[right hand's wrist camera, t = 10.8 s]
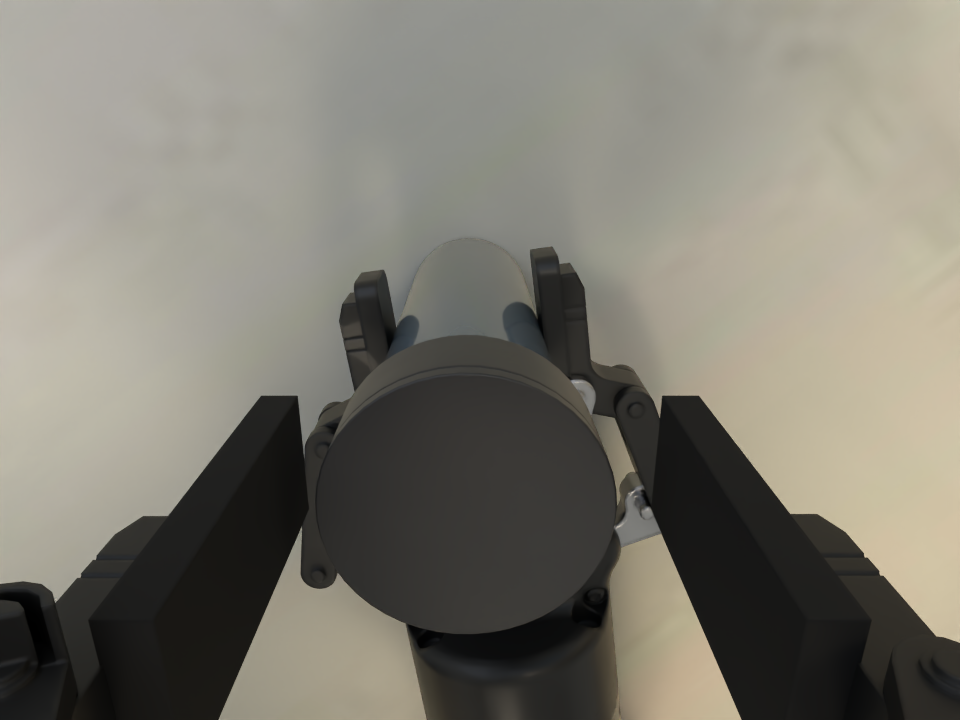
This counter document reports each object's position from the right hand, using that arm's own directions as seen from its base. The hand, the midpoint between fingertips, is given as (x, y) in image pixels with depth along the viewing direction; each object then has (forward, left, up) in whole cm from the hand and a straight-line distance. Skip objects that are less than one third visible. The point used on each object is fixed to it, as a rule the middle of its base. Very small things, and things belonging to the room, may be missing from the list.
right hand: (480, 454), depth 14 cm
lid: (0, 0, +2) cm, 2 cm away
